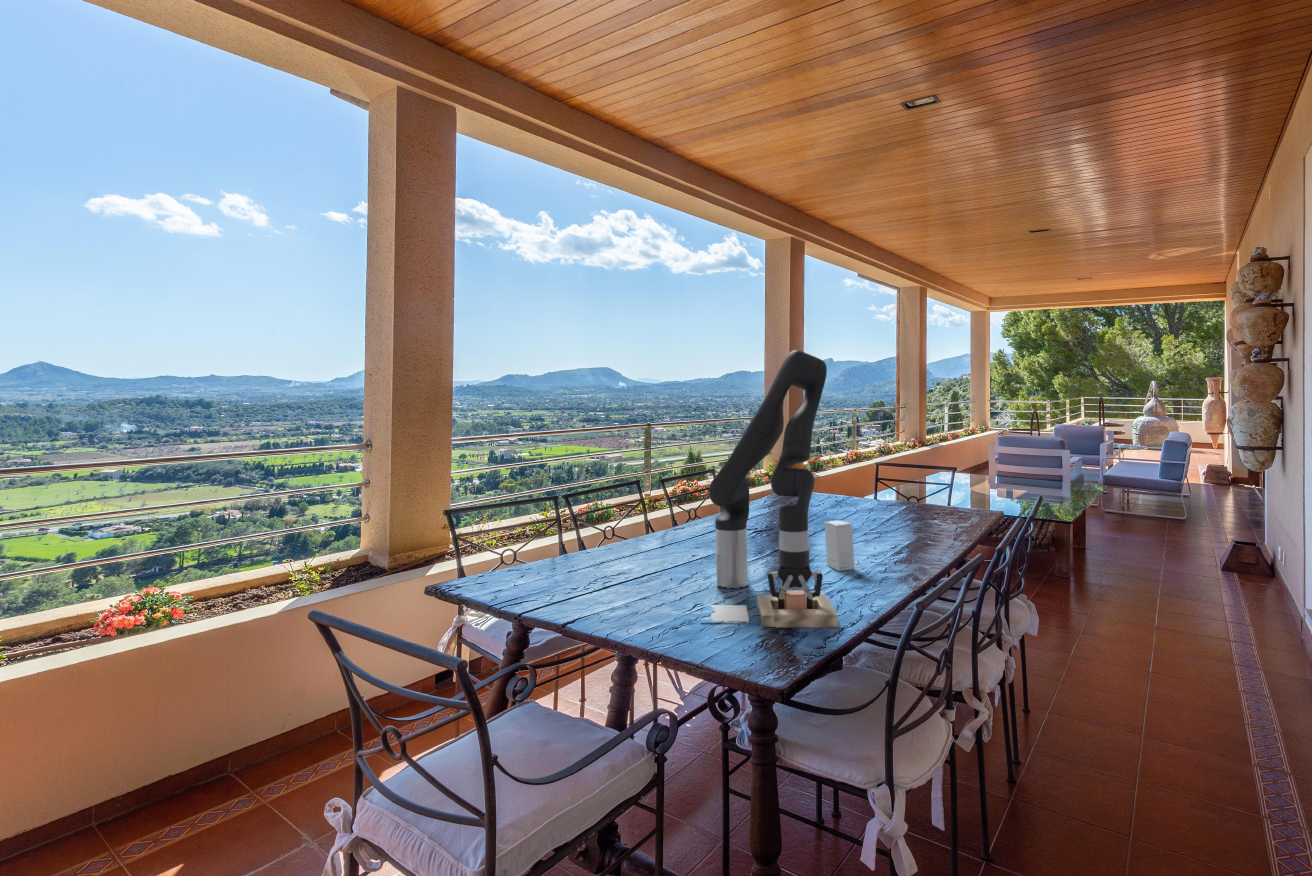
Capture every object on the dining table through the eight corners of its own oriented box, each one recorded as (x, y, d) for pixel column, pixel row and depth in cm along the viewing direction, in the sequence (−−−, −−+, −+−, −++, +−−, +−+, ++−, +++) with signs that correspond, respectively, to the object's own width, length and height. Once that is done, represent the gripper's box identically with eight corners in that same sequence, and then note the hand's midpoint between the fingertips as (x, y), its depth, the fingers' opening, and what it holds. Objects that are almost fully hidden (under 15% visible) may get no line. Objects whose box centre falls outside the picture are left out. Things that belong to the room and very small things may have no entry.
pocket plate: (762, 627, 156) (761, 615, 156) (757, 606, 172) (757, 595, 172) (837, 627, 155) (837, 615, 154) (825, 605, 171) (825, 594, 170)
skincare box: (854, 570, 204) (854, 523, 203) (837, 571, 203) (836, 525, 202) (841, 563, 212) (840, 519, 211) (824, 565, 211) (824, 520, 210)
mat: (700, 623, 160) (700, 621, 160) (701, 607, 172) (701, 605, 172) (749, 623, 159) (748, 620, 159) (746, 607, 171) (746, 605, 171)
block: (786, 619, 161) (786, 596, 161) (784, 613, 166) (783, 590, 166) (806, 619, 161) (806, 596, 160) (804, 613, 166) (803, 590, 165)
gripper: (766, 551, 159) (768, 617, 160) (825, 550, 158) (826, 617, 159) (764, 544, 167) (765, 607, 168) (820, 543, 165) (821, 607, 166)
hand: (795, 612), depth 163 cm, fingers open, 5 cm apart
